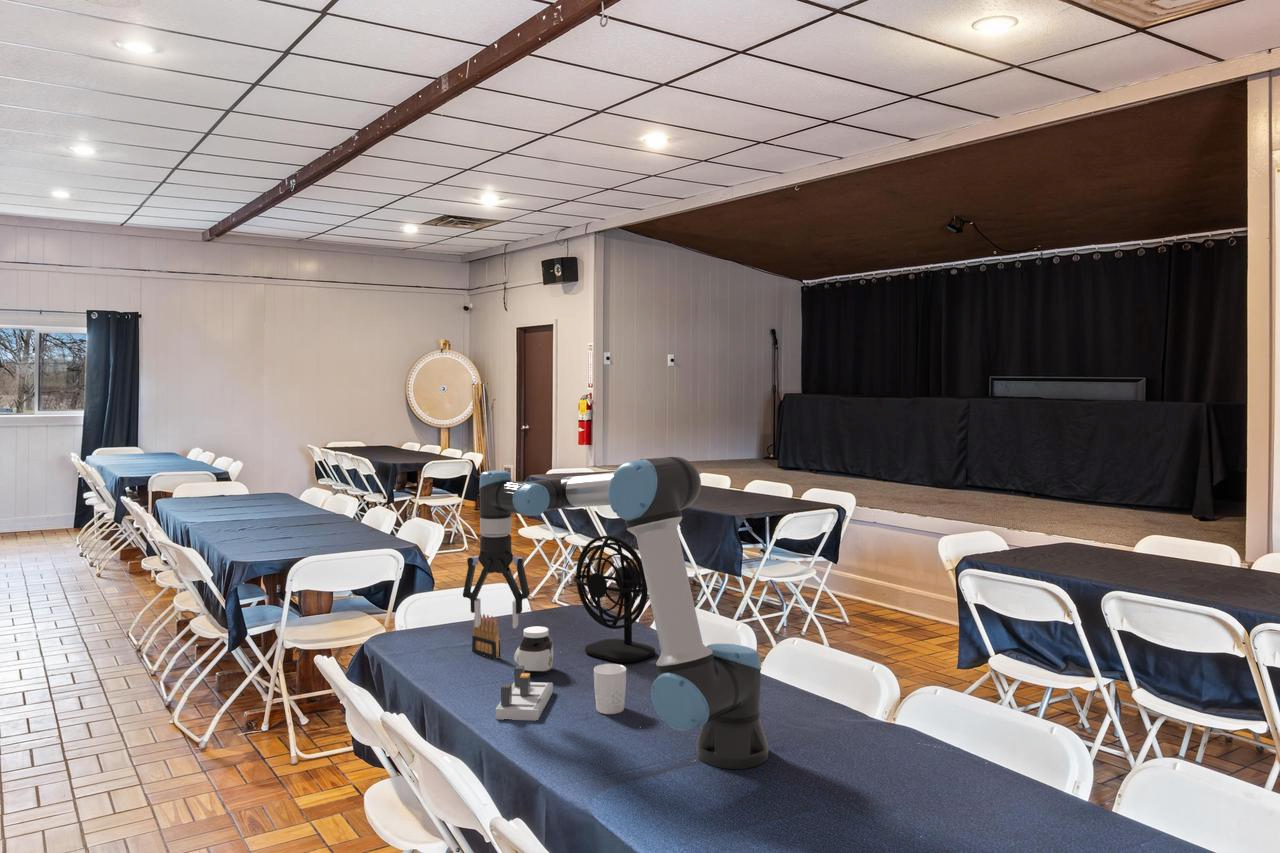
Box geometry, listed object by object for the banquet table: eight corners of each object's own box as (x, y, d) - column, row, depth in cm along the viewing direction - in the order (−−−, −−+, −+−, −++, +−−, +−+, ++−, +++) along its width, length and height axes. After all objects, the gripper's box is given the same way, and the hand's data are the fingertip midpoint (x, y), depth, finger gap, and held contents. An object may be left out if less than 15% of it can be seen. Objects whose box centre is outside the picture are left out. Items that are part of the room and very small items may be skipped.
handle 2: (522, 685, 226) (522, 668, 226) (514, 685, 226) (514, 668, 226) (524, 682, 229) (524, 665, 228) (516, 682, 229) (516, 665, 228)
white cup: (622, 716, 213) (622, 675, 212) (590, 714, 214) (589, 672, 214) (629, 704, 221) (629, 664, 220) (598, 702, 222) (598, 662, 222)
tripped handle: (528, 695, 219) (528, 676, 219) (520, 695, 219) (519, 676, 219) (530, 692, 221) (530, 673, 221) (522, 692, 221) (522, 673, 221)
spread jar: (540, 679, 240) (540, 635, 239) (503, 674, 244) (502, 631, 243) (560, 665, 251) (559, 624, 251) (523, 661, 255) (523, 620, 255)
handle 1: (509, 705, 212) (509, 687, 212) (501, 705, 212) (500, 687, 212) (511, 702, 215) (511, 684, 214) (503, 702, 215) (503, 683, 215)
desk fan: (562, 652, 264) (561, 533, 262) (603, 639, 277) (602, 525, 275) (632, 671, 246) (632, 544, 245) (672, 656, 260) (672, 535, 258)
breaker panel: (537, 720, 210) (537, 709, 210) (495, 719, 211) (495, 708, 211) (552, 692, 229) (552, 682, 229) (514, 691, 230) (513, 681, 230)
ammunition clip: (500, 658, 258) (500, 616, 258) (495, 659, 257) (495, 618, 256) (476, 651, 265) (476, 610, 265) (471, 652, 264) (471, 611, 263)
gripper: (542, 532, 222) (542, 623, 223) (457, 531, 224) (458, 621, 225) (536, 537, 214) (536, 631, 215) (447, 536, 216) (449, 629, 217)
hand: (496, 626), depth 220 cm, fingers open, 9 cm apart
